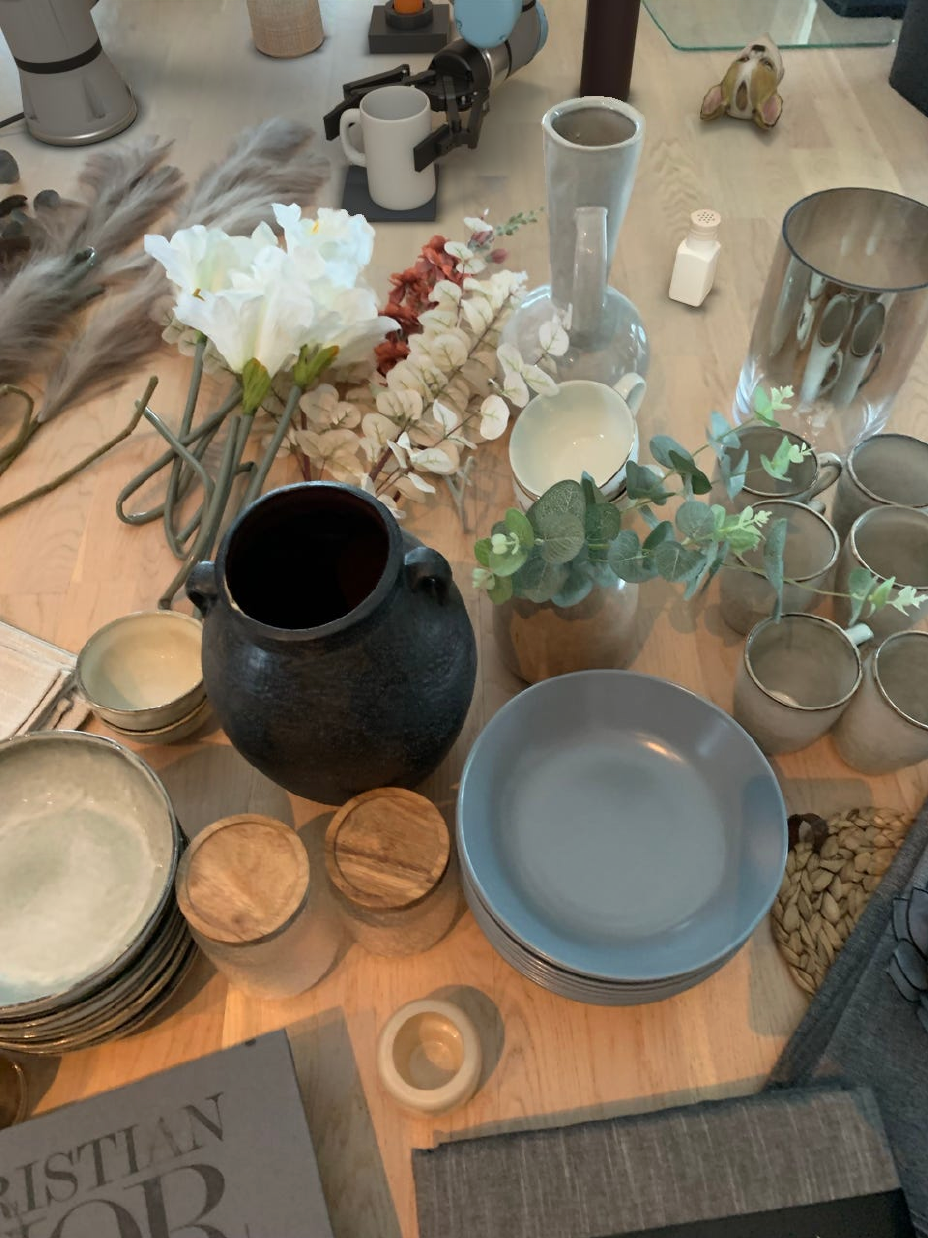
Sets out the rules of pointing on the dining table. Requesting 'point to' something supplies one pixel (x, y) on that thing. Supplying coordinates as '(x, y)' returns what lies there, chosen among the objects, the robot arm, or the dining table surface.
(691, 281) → the salt shaker
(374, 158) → the mug
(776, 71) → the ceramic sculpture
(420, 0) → the kettle button
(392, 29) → the base
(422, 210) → the coaster
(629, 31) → the wine bottle
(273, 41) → the planter
